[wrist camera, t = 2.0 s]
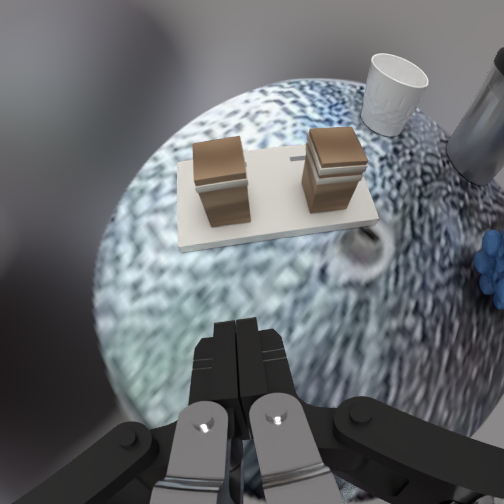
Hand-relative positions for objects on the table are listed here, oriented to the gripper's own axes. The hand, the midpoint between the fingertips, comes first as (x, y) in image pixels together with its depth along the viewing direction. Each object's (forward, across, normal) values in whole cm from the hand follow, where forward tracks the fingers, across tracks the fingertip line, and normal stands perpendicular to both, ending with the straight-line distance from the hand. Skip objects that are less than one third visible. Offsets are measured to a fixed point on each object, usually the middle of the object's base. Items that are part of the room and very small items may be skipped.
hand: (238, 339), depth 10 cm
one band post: (+21, 0, 0) cm, 21 cm away
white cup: (+31, -23, -8) cm, 40 cm away
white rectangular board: (+23, -5, 0) cm, 24 cm away
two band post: (+21, -10, 0) cm, 23 cm away
